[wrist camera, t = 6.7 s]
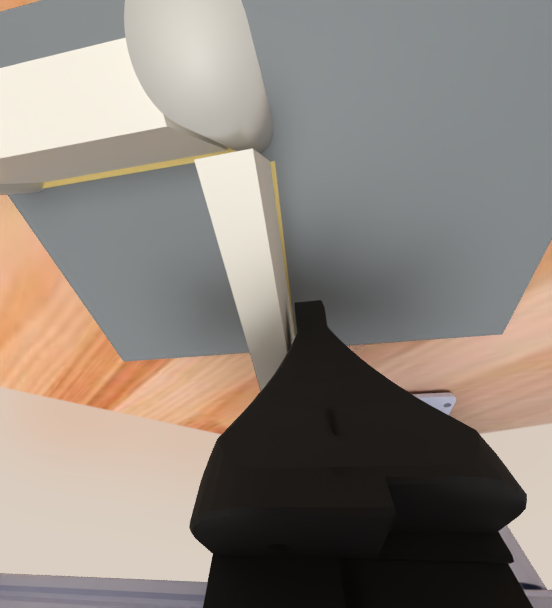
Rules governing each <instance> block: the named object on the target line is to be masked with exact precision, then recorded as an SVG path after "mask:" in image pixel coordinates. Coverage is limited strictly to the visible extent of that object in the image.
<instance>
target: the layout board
mask: <svg viewBox="0 0 552 608" xmlns="http://www.w3.org/2000/svg"><path fill="white" fill-rule="evenodd" d="M241 1H242V4H243V7H244V9H245V13H246V16H247V20H248V24H249V28H250V32H251V36H252V40H253V44H254V48H255V52H256V56H257V60H258V63H259V67H260V71H261V75H262V79H263V83H264V87H265V91H266V95H267V99H268V103H269V107H270V111H271V115H272V119H273V135H272V139H271V142H270V144H269V145H268V147H267V148H266V149H265V150H264V151H263V152H262V153H260V154H261V155H262V156H264V157H265V158H266V159H268V160H269V161H270V166H271V174H272V181H273V188H274V195H275V203H276V210H277V217H278V224H279V231H280V239H281V246H282V253H283V260H284V268H285V275H286V282H287V289H288V296H289V304H290V311H291V318H292V325H293V333H294V335H296V334H297V325H296V316H295V302H306V301H316V300H321V301H322V303H323V305H324V307H325V313H326V320H327V326H328V327H329V329H330V330H331V331H332V332H333V333H334V334H335V335H336V336H337V337H338V338H339V339H340V340H341V341H342V342H343V343H344V344H345V345H360V344H374V343H388V342H402V341H416V340H430V339H444V338H457V337H471V336H485V335H499V334H503V332H504V330H505V328H506V326H507V324H508V322H509V320H510V319H511V317H512V315H513V313H514V311H515V309H516V307H517V305H518V303H519V301H520V299H521V297H522V295H523V293H524V292H525V290H526V288H527V286H528V284H529V282H530V280H531V278H532V276H533V274H534V272H535V270H536V268H537V267H538V265H539V263H540V261H541V259H542V257H543V255H544V253H545V251H546V249H547V247H548V245H549V243H550V242H551V240H552V0H241ZM124 7H125V0H41V1H38V2H34V3H30V4H27V5H23V6H19V7H16V8H12V9H8V10H5V11H1V12H0V68H3V67H7V66H11V65H15V64H19V63H23V62H27V61H31V60H35V59H40V58H44V57H48V56H52V55H56V54H60V53H64V52H68V51H72V50H76V49H81V48H85V47H89V46H93V45H97V44H101V43H105V42H109V41H113V40H118V39H122V38H126V37H125V29H124ZM227 149H228V151H222V152H217V153H211V154H205V155H199V156H194V157H188V158H182V159H176V160H171V161H165V162H159V163H154V164H148V165H142V166H136V167H131V168H125V169H119V170H113V171H108V172H102V173H96V174H90V175H85V176H79V177H73V178H67V179H62V180H56V181H50V182H44V186H43V188H44V189H43V188H42V189H43V190H42V191H40V192H35V193H22V194H9V195H8V196H9V197H10V199H11V200H12V202H13V203H14V205H15V206H16V208H17V209H18V210H19V212H20V213H21V215H22V216H23V218H24V219H25V220H26V222H27V223H28V225H29V226H30V228H31V229H32V231H33V232H34V233H35V235H36V236H37V238H38V239H39V241H40V242H41V243H42V245H43V246H44V248H45V249H46V251H47V252H48V253H49V255H50V256H51V258H52V259H53V261H54V262H55V264H56V265H57V266H58V268H59V269H60V271H61V272H62V274H63V275H64V276H65V278H66V279H67V281H68V282H69V284H70V285H71V287H72V288H73V289H74V291H75V292H76V294H77V295H78V297H79V298H80V299H81V301H82V302H83V304H84V305H85V307H86V308H87V309H88V311H89V312H90V314H91V315H92V317H93V318H94V320H95V321H96V322H97V324H98V325H99V327H100V328H101V330H102V331H103V332H104V334H105V335H106V337H107V338H108V340H109V341H110V343H111V344H112V345H113V347H114V348H115V350H116V351H117V353H118V354H119V355H120V357H121V358H122V360H123V361H137V360H151V359H165V358H179V357H193V356H207V355H221V354H235V353H249V348H248V345H247V342H246V338H245V335H244V331H243V328H242V324H241V321H240V317H239V314H238V310H237V307H236V303H235V300H234V297H233V293H232V290H231V286H230V283H229V279H228V276H227V272H226V269H225V265H224V262H223V258H222V255H221V252H220V248H219V245H218V241H217V238H216V234H215V231H214V227H213V224H212V220H211V217H210V213H209V210H208V207H207V203H206V200H205V196H204V193H203V189H202V186H201V182H200V179H199V175H198V172H197V169H196V165H195V162H194V160H195V159H200V158H205V157H210V156H215V155H221V154H226V153H231V152H236V151H235V150H233V149H231V148H229V147H227Z"/></svg>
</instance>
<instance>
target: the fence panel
mask: <svg viewBox="0 0 552 608" xmlns="http://www.w3.org/2000/svg"><path fill="white" fill-rule="evenodd" d="M194 162H195V165H196V169H197V172H198V175H199V179H200V182H201V186H202V189H203V193H204V196H205V200H206V203H207V207H208V210H209V213H210V217H211V220H212V224H213V227H214V231H215V234H216V238H217V241H218V245H219V248H220V252H221V255H222V258H223V262H224V265H225V269H226V272H227V276H228V279H229V283H230V286H231V290H232V293H233V297H234V300H235V303H236V307H237V310H238V314H239V317H240V321H241V324H242V328H243V331H244V335H245V338H246V342H247V345H248V348H249V352H250V355H251V359H252V362H253V366H254V369H255V373H256V376H257V380H258V383H259V386H260V390H261V391H262V389H263V388H264V387H265V386H266V384H267V383H268V382H269V380H270V379H271V378H272V376H273V375H274V373H275V372H276V370H277V369H278V367H279V366H280V364H281V363H282V361H283V360H284V358H285V356H286V355H287V353H288V351H289V349H290V347H291V345H292V343H293V341H294V339H295V337H296V335H294V333H293V325H292V318H291V311H290V304H289V296H288V289H287V282H286V275H285V268H284V260H283V253H282V246H281V239H280V231H279V224H278V217H277V210H276V203H275V195H274V188H273V181H272V174H271V166H270V161H269V160H268V159H266V158H265V157H264V156H262V155H261V154H260V153H258V152H257V151H256V150H254V149H253V148H252V149H246V150H241V151H236V152H231V153H226V154H221V155H215V156H210V157H205V158H200V159H195V160H194Z"/></svg>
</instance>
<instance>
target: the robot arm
mask: <svg viewBox="0 0 552 608" xmlns="http://www.w3.org/2000/svg"><path fill="white" fill-rule="evenodd" d="M295 316H296V325H297V334H296V337H295V339H294V341H293V343H292V345H291V347H290V349H289V351H288V353H287V355H286V356H285V358H284V360H283V361H282V363H281V364H280V366H279V367H278V369H277V370H276V372H275V373H274V375H273V376H272V378H271V379H270V380H269V382H268V383H267V384H266V386H265V387H264V388H263V389H262V391H261V392H260V393H259V394H258V395H257V397H256V398H255V399H254V400H253V402H252V403H251V404H250V405H249V406H248V407H247V409H246V410H245V411H244V412H243V413H242V414H241V415H240V416H239V417H238V418H237V419H236V420H235V421H234V422H233V423H232V424H231V425H230V426H229V427H228V428H227V429H226V431H225V432H224V433H223V434H222V435H221V436H220V437H219V438H218V439H217V441H216V444H215V446H214V448H213V451H212V453H211V456H210V458H209V461H208V463H207V466H206V469H205V471H204V474H203V477H202V480H201V483H200V487H199V491H198V495H197V498H196V502H195V506H194V509H193V514H192V517H191V521H190V530H191V532H192V534H193V535H194V537H195V538H196V539H197V540H198V541H199V542H200V543H201V544H203V545H204V546H205V547H206V548H207V549H208V550H210V551H211V552H212V553H213V557H212V562H211V568H210V573H209V578H208V582H189V581H167V580H144V579H143V580H142V579H120V578H97V577H73V576H50V575H26V574H4V573H0V608H552V590H547V588H546V587H545V585H544V584H543V582H542V581H541V579H540V578H539V576H538V574H537V572H536V571H535V569H534V568H533V566H532V565H531V563H530V561H529V560H528V559H527V557H526V555H525V553H524V552H523V550H522V549H521V547H520V545H519V544H518V542H517V541H516V539H515V537H514V536H513V534H512V533H511V531H510V529H509V528H508V526H507V524H509V523H510V522H511V521H513V520H514V519H515V518H517V517H518V516H519V515H520V514H521V513H522V512H523V511H524V510H525V509H526V502H527V498H526V497H527V494H526V493H525V492H524V490H523V489H522V488H521V486H520V485H519V484H518V483H517V481H516V480H515V479H514V477H513V476H512V474H511V473H510V472H509V470H508V469H507V467H506V466H505V465H504V464H503V462H502V461H501V460H500V458H499V457H498V456H497V454H496V453H495V452H494V451H493V450H492V448H491V447H490V446H489V445H488V444H487V443H486V442H485V440H484V439H483V438H482V437H481V436H480V434H479V433H478V432H477V431H476V430H475V429H473V428H471V427H469V426H467V425H466V424H464V423H462V422H460V421H458V420H456V419H455V418H453V417H451V416H449V414H450V412H451V410H452V408H453V406H454V404H455V401H456V398H455V396H454V395H453V394H452V393H448V392H447V393H426V394H411V393H409V392H407V391H406V390H404V389H402V388H401V387H399V386H398V385H396V384H395V383H393V382H392V381H390V380H389V379H388V378H386V377H385V376H383V375H382V374H380V373H379V372H378V371H376V370H375V369H373V368H372V367H371V366H369V365H368V364H367V363H366V362H364V361H363V360H362V359H361V358H359V357H358V356H357V355H356V354H355V353H354V352H352V351H351V350H350V349H349V348H348V347H347V346H346V345H345V344H344V343H343V342H342V341H341V340H340V339H339V338H338V337H337V336H336V335H335V334H334V333H333V332H332V331H331V330H330V329H329V327H328V326H327V320H326V313H325V307H324V305H323V303H322V301H321V300H316V301H306V302H295Z"/></svg>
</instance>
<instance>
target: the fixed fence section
mask: <svg viewBox="0 0 552 608" xmlns="http://www.w3.org/2000/svg"><path fill="white" fill-rule="evenodd" d="M124 29H125V37H126V38H122V39H118V40H113V41H109V42H105V43H101V44H97V45H93V46H89V47H85V48H81V49H76V50H72V51H68V52H64V53H60V54H56V55H52V56H48V57H44V58H40V59H35V60H31V61H27V62H23V63H19V64H15V65H11V66H7V67H3V68H0V195H9V194H22V193H35V192H40V191H42V190H43V189H44V188H43V186H44V182H50V181H56V180H62V179H67V178H73V177H79V176H85V175H90V174H96V173H102V172H108V171H113V170H119V169H125V168H131V167H136V166H142V165H148V164H154V163H159V162H165V161H171V160H176V159H182V158H188V157H194V156H199V155H205V154H211V153H217V152H222V151H228V149H227V147H229V148H231V149H233V150H235V151H241V150H246V149H252V148H253V149H254V150H256V151H257V152H258V153H262V152H263V151H264V150H265V149H266V148H267V147H268V145H269V144H270V142H271V139H272V135H273V119H272V115H271V111H270V107H269V103H268V99H267V95H266V91H265V87H264V83H263V79H262V75H261V71H260V67H259V63H258V60H257V56H256V52H255V48H254V44H253V40H252V36H251V32H250V28H249V24H248V20H247V16H246V13H245V9H244V7H243V4H242V1H241V0H125V7H124ZM42 188H43V189H42Z"/></svg>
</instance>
